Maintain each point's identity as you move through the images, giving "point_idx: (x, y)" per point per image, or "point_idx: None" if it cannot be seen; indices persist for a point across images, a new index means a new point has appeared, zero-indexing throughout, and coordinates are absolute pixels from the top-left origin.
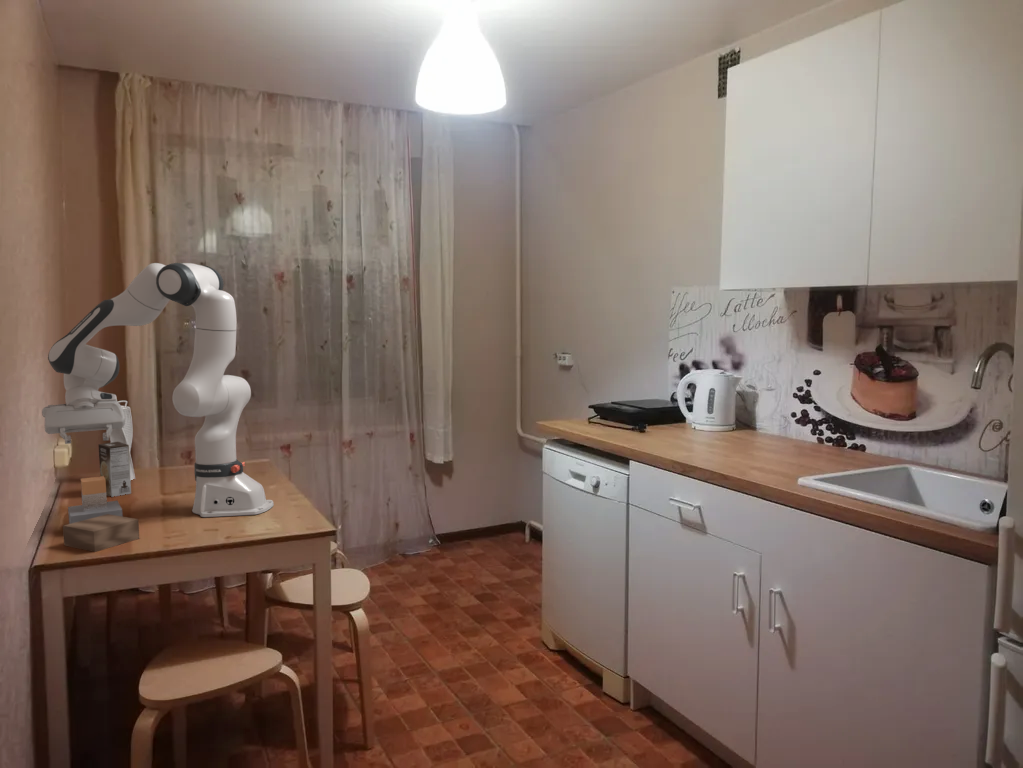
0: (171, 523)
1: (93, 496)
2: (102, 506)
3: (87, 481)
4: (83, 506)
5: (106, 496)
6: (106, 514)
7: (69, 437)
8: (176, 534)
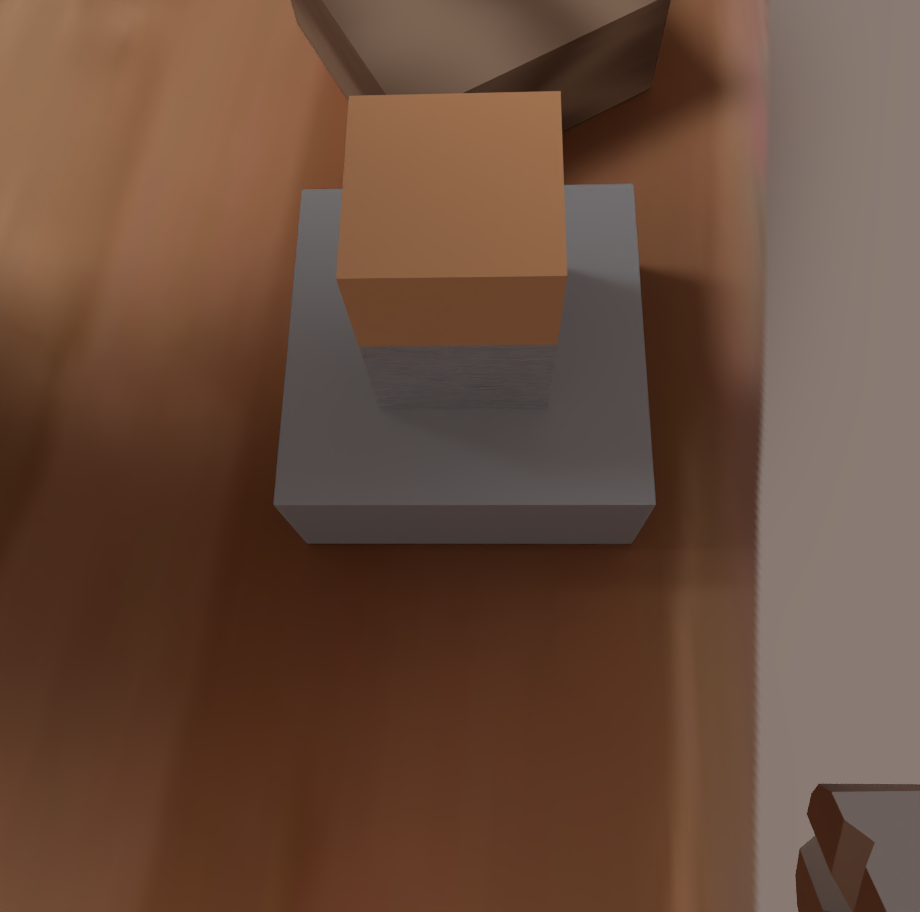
0: (70, 215)
1: None
2: None
3: (510, 97)
4: None
5: None
6: None
7: (904, 855)
8: (126, 4)
